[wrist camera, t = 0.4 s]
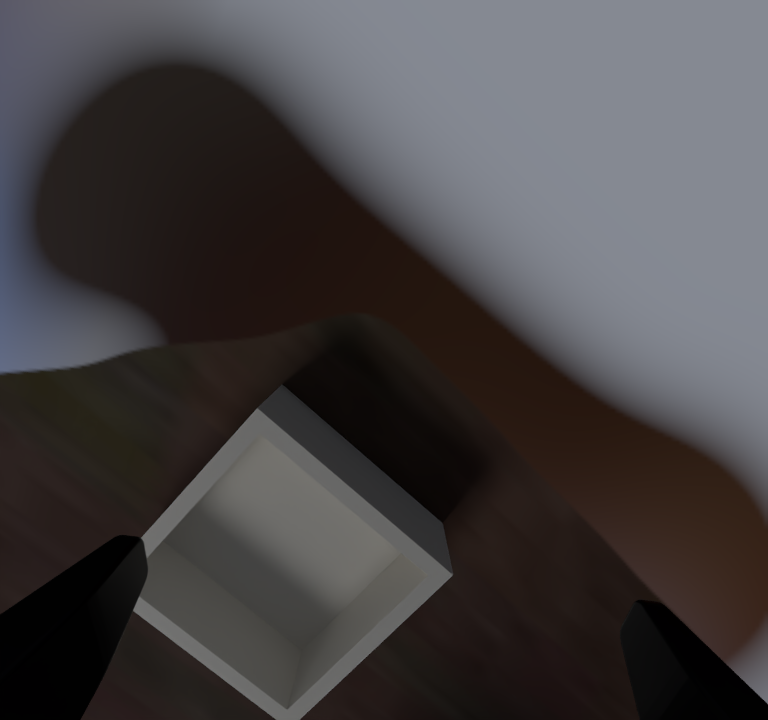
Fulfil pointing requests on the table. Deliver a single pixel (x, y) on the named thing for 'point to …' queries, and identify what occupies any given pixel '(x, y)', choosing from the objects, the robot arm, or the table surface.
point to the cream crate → (289, 559)
